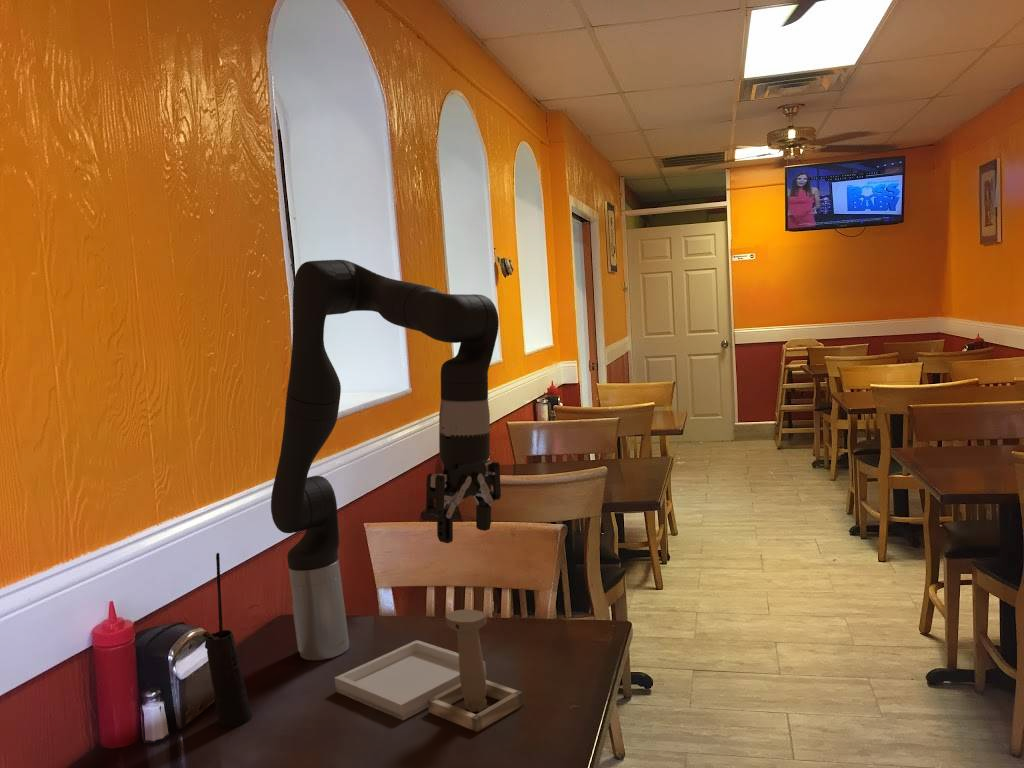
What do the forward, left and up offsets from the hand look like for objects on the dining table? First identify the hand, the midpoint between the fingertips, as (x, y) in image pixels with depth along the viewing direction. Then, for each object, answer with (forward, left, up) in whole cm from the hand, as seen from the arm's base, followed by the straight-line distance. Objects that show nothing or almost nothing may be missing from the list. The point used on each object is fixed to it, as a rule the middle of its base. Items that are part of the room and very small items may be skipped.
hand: (464, 535), depth 130 cm
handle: (-2, 0, -28) cm, 28 cm away
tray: (-18, 0, -28) cm, 33 cm away
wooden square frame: (-2, 0, -28) cm, 28 cm away
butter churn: (-34, -25, -28) cm, 51 cm away
